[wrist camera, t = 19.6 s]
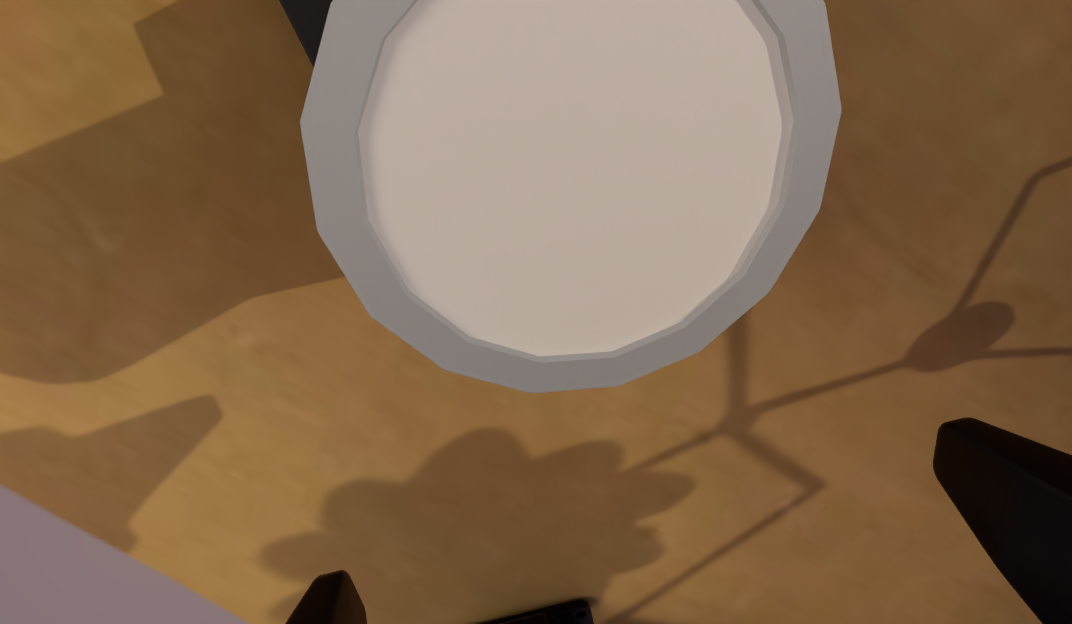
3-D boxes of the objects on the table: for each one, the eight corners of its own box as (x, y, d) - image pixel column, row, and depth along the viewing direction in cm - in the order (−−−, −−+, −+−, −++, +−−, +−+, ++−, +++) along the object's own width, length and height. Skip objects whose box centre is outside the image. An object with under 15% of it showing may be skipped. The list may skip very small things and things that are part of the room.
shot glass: (300, 134, 14) (201, 262, 8) (465, -187, 12) (504, -351, 6) (556, 279, 17) (630, 461, 10) (730, 37, 14) (953, 87, 8)
